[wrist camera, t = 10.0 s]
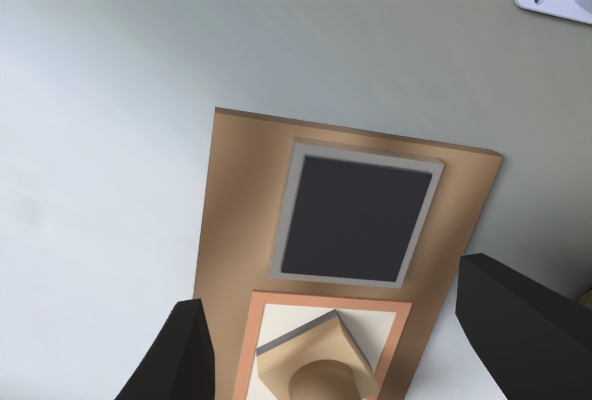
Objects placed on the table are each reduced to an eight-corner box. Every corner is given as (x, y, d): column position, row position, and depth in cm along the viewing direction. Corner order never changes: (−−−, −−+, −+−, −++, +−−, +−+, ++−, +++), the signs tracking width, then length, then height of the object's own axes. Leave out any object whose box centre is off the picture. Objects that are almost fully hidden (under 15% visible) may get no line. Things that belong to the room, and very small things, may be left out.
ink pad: (435, 156, 21) (446, 166, 20) (394, 277, 24) (401, 290, 23) (292, 135, 19) (296, 144, 18) (267, 266, 22) (269, 280, 21)
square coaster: (411, 301, 25) (412, 303, 24) (369, 412, 28) (370, 414, 28) (252, 289, 23) (253, 291, 23) (230, 409, 26) (230, 412, 26)
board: (492, 150, 22) (503, 156, 21) (393, 399, 30) (398, 412, 29) (215, 107, 19) (214, 112, 19) (181, 394, 27) (180, 409, 26)
